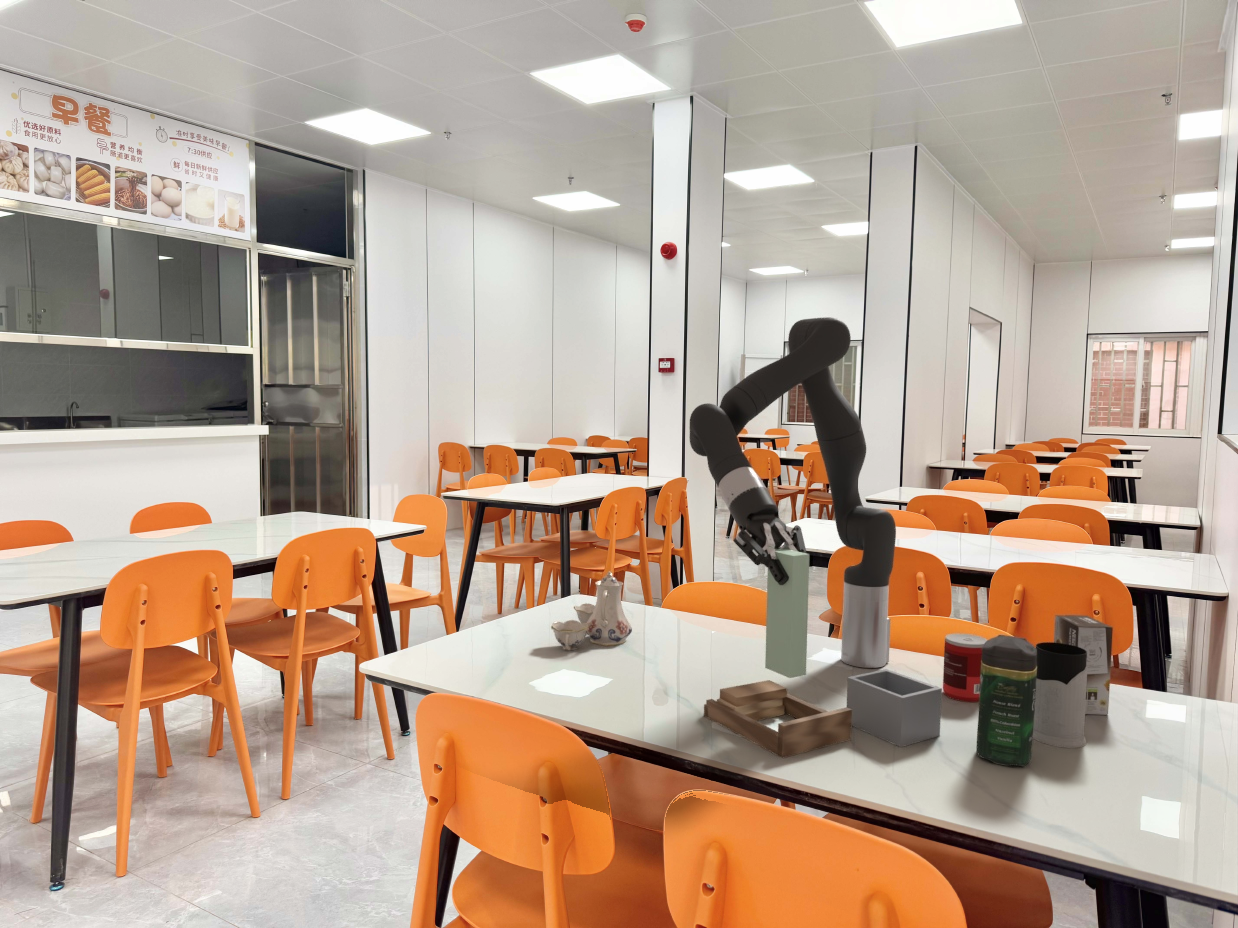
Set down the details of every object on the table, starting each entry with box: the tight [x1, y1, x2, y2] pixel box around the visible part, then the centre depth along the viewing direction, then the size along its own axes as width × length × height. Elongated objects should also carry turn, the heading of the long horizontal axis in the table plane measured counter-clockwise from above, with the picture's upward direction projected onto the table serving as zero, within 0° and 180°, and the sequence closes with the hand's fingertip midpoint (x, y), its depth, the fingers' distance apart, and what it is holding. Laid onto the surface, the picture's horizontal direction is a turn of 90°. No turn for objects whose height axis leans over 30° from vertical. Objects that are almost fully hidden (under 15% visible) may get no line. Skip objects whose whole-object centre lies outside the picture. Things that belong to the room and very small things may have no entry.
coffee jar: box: [976, 634, 1037, 767], centre depth 128 cm, size 10×8×19 cm
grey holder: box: [846, 668, 943, 748], centre depth 139 cm, size 10×12×8 cm
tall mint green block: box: [764, 549, 810, 679], centre depth 136 cm, size 4×6×20 cm, turn 31°
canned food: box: [942, 633, 988, 703], centre depth 156 cm, size 8×8×11 cm
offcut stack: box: [716, 679, 788, 722], centre depth 144 cm, size 12×5×5 cm, turn 121°
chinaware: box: [550, 570, 633, 651], centre depth 190 cm, size 28×17×17 cm, turn 171°
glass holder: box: [1033, 641, 1087, 749], centre depth 138 cm, size 9×14×15 cm, turn 47°
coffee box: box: [1053, 614, 1114, 716], centre depth 151 cm, size 9×6×16 cm
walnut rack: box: [703, 693, 852, 759], centre depth 139 cm, size 15×20×5 cm
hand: (794, 580), depth 134 cm, fingers closed on tall mint green block, 3 cm apart
